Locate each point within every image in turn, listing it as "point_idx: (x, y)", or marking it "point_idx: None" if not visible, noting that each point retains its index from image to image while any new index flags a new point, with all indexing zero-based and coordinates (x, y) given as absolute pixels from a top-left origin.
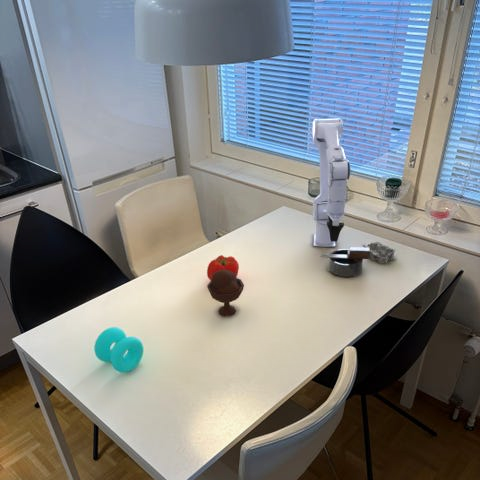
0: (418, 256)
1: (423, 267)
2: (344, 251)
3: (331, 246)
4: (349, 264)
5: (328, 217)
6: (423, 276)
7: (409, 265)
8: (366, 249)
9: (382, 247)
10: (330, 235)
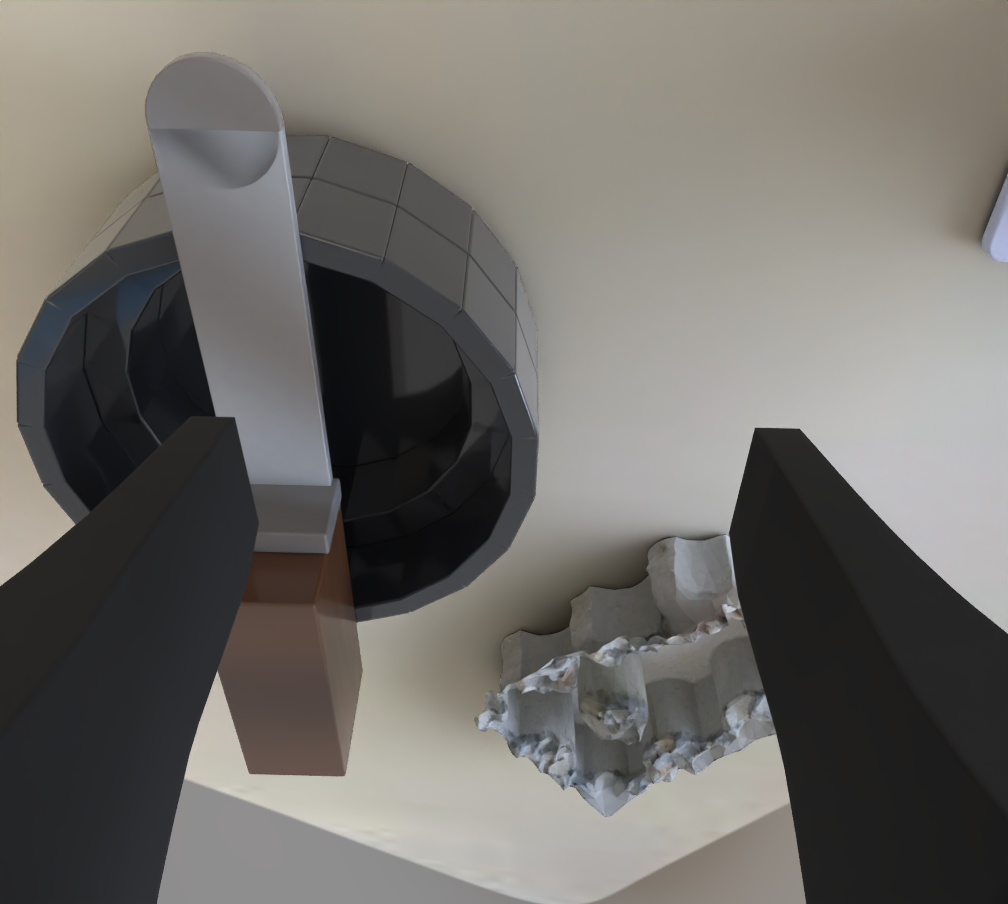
0: (630, 834)
1: (460, 835)
2: (510, 437)
3: (997, 201)
4: (62, 487)
5: (919, 717)
6: (325, 822)
7: (484, 784)
8: (280, 752)
9: (722, 722)
10: (86, 527)
